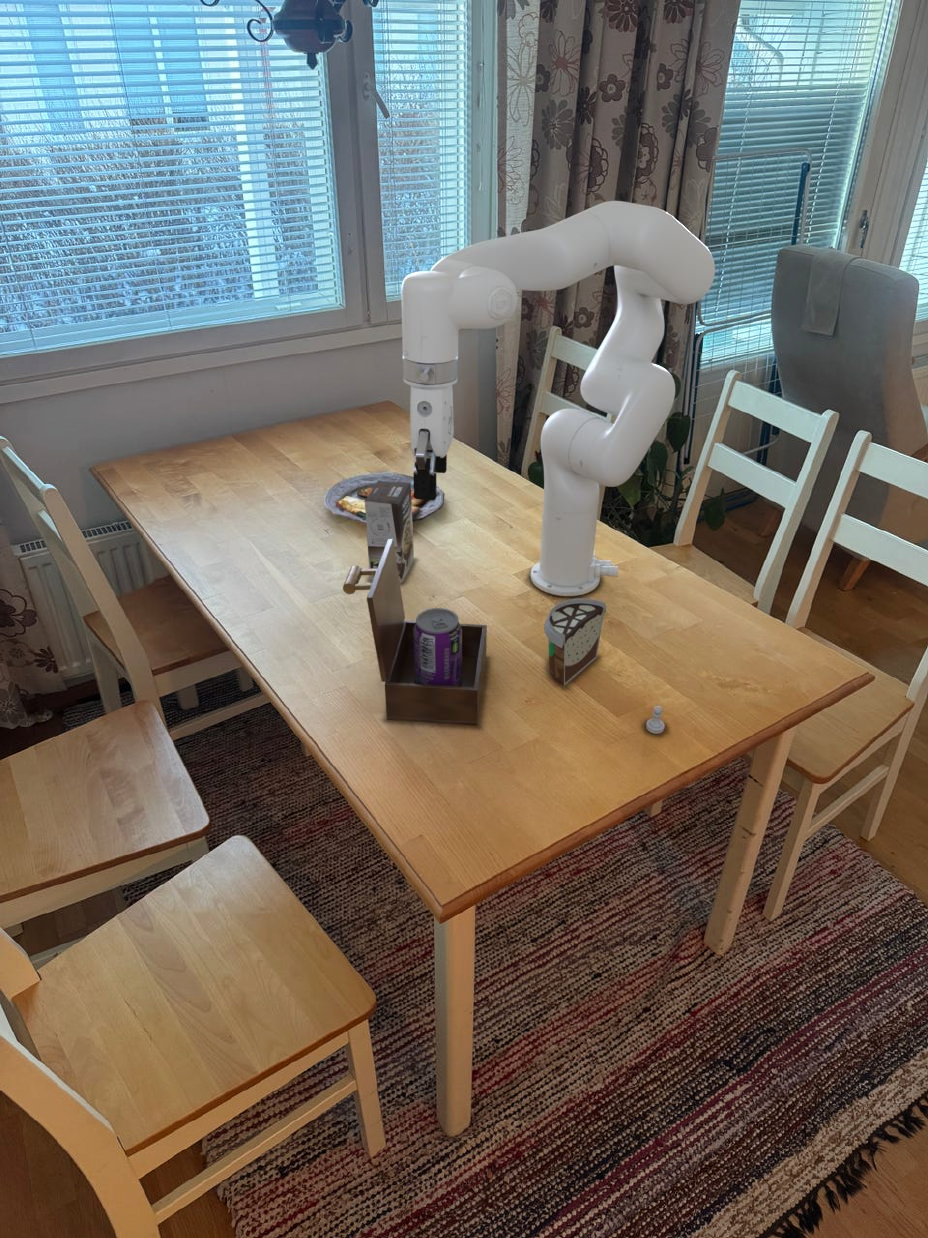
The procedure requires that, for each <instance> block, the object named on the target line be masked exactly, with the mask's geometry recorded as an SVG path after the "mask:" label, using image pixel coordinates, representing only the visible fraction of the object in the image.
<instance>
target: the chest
mask: <svg viewBox="0 0 928 1238" xmlns="http://www.w3.org/2000/svg"><path fill="white" fill-rule="evenodd" d="M415 624H416V620H406V619H405V620H404V623H403V627H402V630H401V634H400V637H399V641H398V644H397V648H396V651H395V655H394V658H393V662H392V665H391V669H390V672H389V676H388V679H387V682H384V685H383V686H384V697H385V698H384V699H385V714H386V715H385V716H386V721H397V722H413V723H428V724H443V725H457V726H459V725H461V726H471V727H472V726H473V727H477V726H478V724H479V716H480V709H481V700H482V693H483V685H484V679H485V672H486V665H487V664H486V663H487V641H488V640H487V639H488V638H487V637H488V635H487V634H488V625H486V624H475V623H474V624H472V623H459V624H460V625H461V628H462V684H461V686H460V687H458V686H442V685H426V684H415V663H414V639H413V629H414V626H415Z"/></svg>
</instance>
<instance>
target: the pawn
mask: <svg viewBox="0 0 928 1238" xmlns="http://www.w3.org/2000/svg"><path fill="white" fill-rule="evenodd" d="M652 711H653V712H652V716H653V718H650V719H647V721H646V723H645V727H646V730H647V731H648V732H649V733H651V734H656V735H658V734H661V733H663V732H664V730H665V727H666V725H665V723H664V721H663V720H661V717H662V716H663V707H661V706H660V705H656V706H654V708H653V710H652Z"/></svg>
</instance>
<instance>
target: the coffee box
mask: <svg viewBox="0 0 928 1238" xmlns="http://www.w3.org/2000/svg"><path fill="white" fill-rule="evenodd" d="M365 511H366V523H365V525H366V527H365V528H366V541H367V555H368V569H377V568H378V565H379V563H380V560H381V557H382V554H383V552H384V549H385V546H386V543H387V541H388V539H393V541H394V548H395V554H396V561H397V568H398V574H399V581H400V584H402V583H403V582H404V580H405V579H406V576H407V575H408V572H409V570H410V568H411V567H412V564H413V563H414V560H415V554H414V551H415V549H414V528H413V522H412V499H411V483H407V482H391V481H390V482H387V481H378V482H377V484H376V485H375V486H374V488H373V490H372V491H371V492H370V494H369V495H368V497H367V498H366V500H365ZM374 576H375V575H369V580H370V581H373V579H374Z"/></svg>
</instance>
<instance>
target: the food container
mask: <svg viewBox="0 0 928 1238" xmlns="http://www.w3.org/2000/svg"><path fill="white" fill-rule="evenodd" d="M606 613H607V605H606V602H605V601H601V600H598V599H593V598H571V599H567V600H564V601H560V602H559V603H557V604H555V605H554V606H553V607H552V608H551V609H550V610H549V612H548V613H547V616H546V618H545V621H544V625H543V632H544V634H545V637H546V638H547V639H548V666H549V667H548V668H549V674H550V677H551V678H552V679H553V680H554V681H555V682H556V683H558V684H559V685H561V686H562V687H565V686H566V685H567V684H569V682H570V681H572V680H573V679H574V678H575V677H577V675H579V674H580V673H581V672H582V671H584V670H585V669H586V668H587V667H588V666H589V665H590V664H591V663H593V662H594V661H595V660H596V659H597V658H598V652H599V646H600V640H601V634H602V628H603V621H604V618H605V617H604V615H605V614H606Z"/></svg>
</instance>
